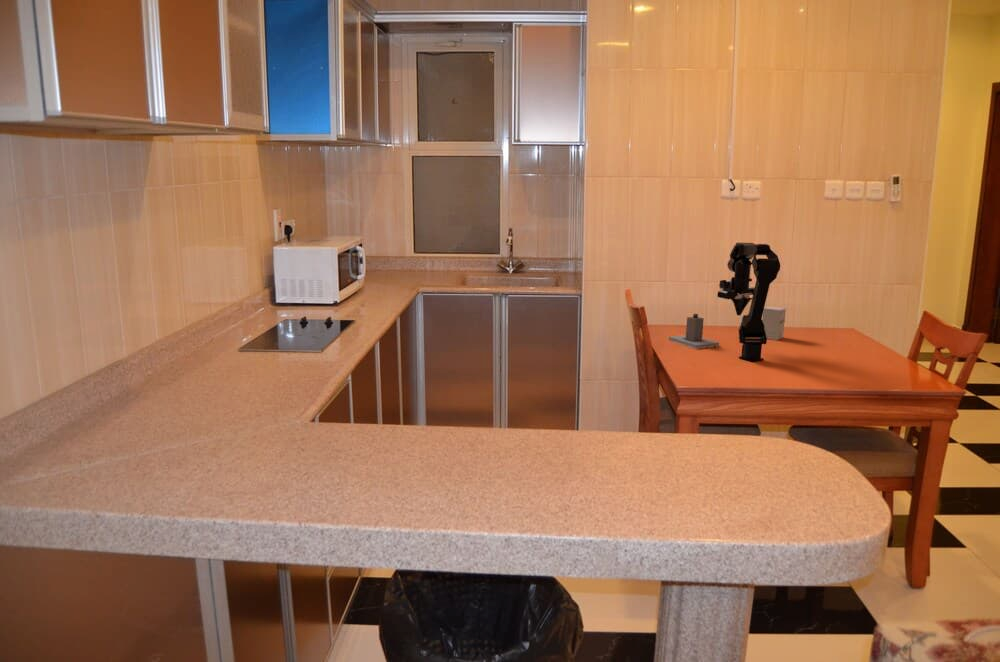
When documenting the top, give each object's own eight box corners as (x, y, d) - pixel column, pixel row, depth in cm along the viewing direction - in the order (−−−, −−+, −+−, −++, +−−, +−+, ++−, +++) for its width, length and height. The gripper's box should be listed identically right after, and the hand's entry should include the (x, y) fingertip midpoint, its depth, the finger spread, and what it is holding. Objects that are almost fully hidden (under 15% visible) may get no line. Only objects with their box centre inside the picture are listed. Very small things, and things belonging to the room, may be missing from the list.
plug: (701, 342, 312) (703, 314, 309) (693, 344, 309) (695, 315, 307) (693, 340, 315) (695, 312, 313) (685, 341, 313) (687, 313, 310)
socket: (718, 346, 308) (719, 342, 308) (695, 348, 303) (695, 345, 302) (691, 337, 322) (691, 334, 322) (668, 340, 316) (668, 336, 316)
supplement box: (777, 340, 320) (780, 310, 318) (759, 337, 325) (762, 308, 322) (783, 337, 326) (786, 307, 323) (766, 335, 331) (768, 305, 328)
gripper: (744, 271, 311) (741, 310, 314) (708, 273, 302) (705, 313, 306) (765, 275, 301) (762, 315, 305) (729, 277, 293) (726, 318, 296)
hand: (738, 315), depth 303 cm, fingers closed
